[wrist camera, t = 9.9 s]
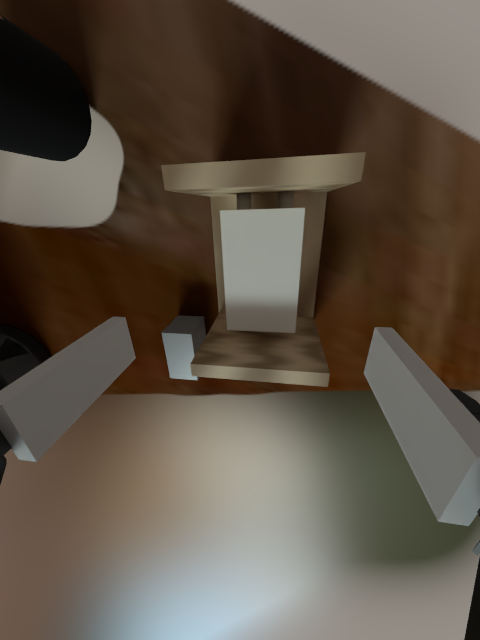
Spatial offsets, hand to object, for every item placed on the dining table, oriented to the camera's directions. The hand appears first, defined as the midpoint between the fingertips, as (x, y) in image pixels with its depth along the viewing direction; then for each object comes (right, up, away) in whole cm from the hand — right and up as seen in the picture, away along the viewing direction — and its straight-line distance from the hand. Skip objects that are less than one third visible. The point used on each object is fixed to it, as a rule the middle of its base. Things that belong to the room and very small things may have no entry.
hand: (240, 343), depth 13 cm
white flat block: (+3, +7, +15) cm, 17 cm away
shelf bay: (+3, +10, +20) cm, 23 cm away
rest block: (-8, -2, +27) cm, 29 cm away
